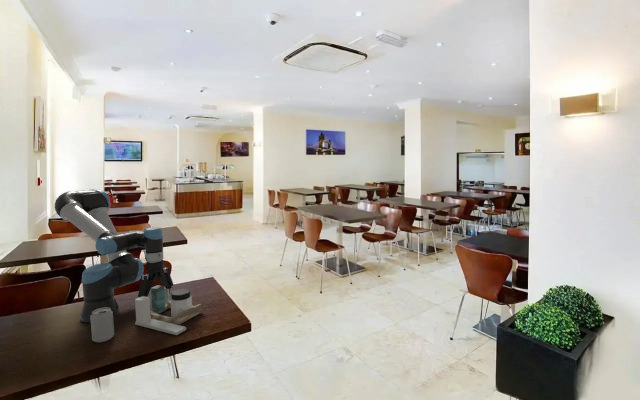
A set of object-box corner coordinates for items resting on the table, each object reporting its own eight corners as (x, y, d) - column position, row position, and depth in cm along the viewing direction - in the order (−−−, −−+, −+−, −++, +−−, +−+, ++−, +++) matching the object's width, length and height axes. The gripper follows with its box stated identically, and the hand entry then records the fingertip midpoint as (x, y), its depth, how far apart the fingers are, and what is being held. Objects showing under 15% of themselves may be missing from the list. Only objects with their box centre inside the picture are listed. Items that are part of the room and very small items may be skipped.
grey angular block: (135, 324, 143) (133, 299, 142) (145, 319, 148) (144, 295, 147) (176, 335, 134) (175, 308, 133) (186, 329, 139) (184, 304, 138)
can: (97, 345, 127) (95, 315, 126) (88, 340, 131) (86, 311, 130) (118, 337, 134) (116, 308, 132) (108, 332, 138) (106, 304, 136)
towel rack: (142, 317, 151) (140, 291, 149) (168, 305, 164) (166, 281, 163) (177, 325, 142) (176, 298, 141) (201, 312, 155) (200, 287, 154)
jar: (171, 322, 146) (170, 296, 145) (171, 315, 153) (170, 290, 152) (193, 318, 150) (192, 293, 149) (191, 311, 157) (190, 287, 156)
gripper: (138, 268, 142) (141, 317, 144) (180, 255, 163) (182, 298, 165) (126, 266, 145) (129, 314, 147) (168, 253, 166) (171, 296, 168)
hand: (157, 306), depth 156 cm, fingers open, 10 cm apart
